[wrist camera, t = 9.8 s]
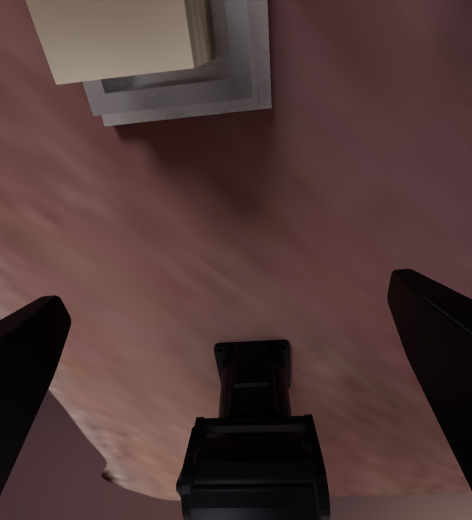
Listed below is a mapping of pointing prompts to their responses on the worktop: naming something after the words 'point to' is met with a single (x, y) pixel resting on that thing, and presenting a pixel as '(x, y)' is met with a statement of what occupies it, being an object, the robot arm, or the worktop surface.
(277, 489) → the robot arm
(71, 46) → the beige rectangular block
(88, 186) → the worktop surface
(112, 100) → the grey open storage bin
